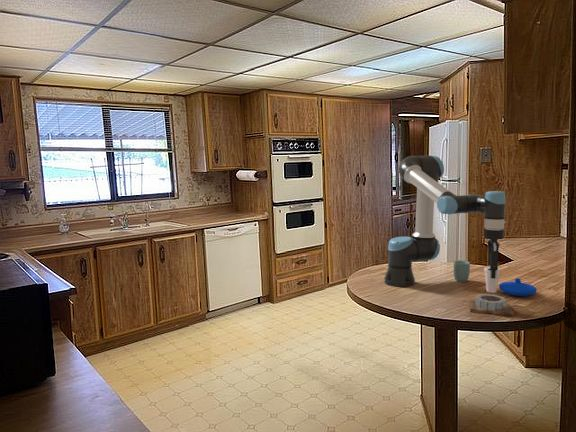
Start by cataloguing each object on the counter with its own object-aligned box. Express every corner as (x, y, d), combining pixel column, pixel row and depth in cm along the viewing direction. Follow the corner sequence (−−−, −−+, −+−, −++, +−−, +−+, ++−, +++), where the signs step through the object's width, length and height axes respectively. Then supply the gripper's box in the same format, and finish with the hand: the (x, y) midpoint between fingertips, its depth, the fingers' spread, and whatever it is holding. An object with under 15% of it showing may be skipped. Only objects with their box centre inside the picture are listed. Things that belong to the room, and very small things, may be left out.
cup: (470, 283, 222) (471, 264, 221) (454, 282, 224) (455, 263, 223) (467, 279, 230) (468, 260, 229) (452, 278, 231) (452, 260, 230)
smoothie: (480, 289, 186) (481, 257, 184) (494, 288, 187) (495, 256, 185) (488, 293, 180) (489, 260, 178) (503, 293, 180) (504, 259, 179)
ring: (476, 309, 181) (476, 301, 180) (474, 300, 191) (474, 293, 191) (507, 312, 177) (507, 303, 176) (503, 303, 188) (504, 295, 187)
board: (470, 311, 181) (470, 308, 181) (468, 302, 193) (469, 300, 192) (513, 315, 176) (513, 313, 176) (509, 306, 187) (509, 303, 187)
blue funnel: (515, 287, 215) (516, 273, 214) (544, 296, 200) (545, 281, 199) (491, 291, 210) (491, 276, 209) (518, 300, 195) (519, 285, 194)
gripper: (507, 232, 170) (504, 290, 172) (501, 225, 188) (498, 278, 190) (486, 232, 172) (483, 288, 175) (482, 225, 190) (480, 276, 193)
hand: (491, 283), depth 183 cm, fingers closed on smoothie, 6 cm apart
